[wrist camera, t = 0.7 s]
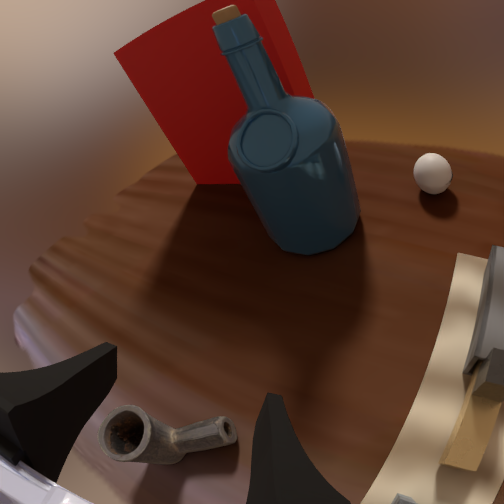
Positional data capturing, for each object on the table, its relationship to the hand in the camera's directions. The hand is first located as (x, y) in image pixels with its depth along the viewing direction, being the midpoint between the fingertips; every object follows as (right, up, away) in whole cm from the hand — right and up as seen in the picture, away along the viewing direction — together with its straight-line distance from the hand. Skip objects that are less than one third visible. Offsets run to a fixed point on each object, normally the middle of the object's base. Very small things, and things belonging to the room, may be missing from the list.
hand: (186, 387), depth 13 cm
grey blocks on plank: (+23, -8, +7) cm, 26 cm away
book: (+5, +21, +44) cm, 49 cm away
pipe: (-4, -15, +16) cm, 23 cm away
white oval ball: (+29, +15, +25) cm, 42 cm away
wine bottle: (+12, +10, +30) cm, 34 cm away
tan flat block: (+24, -4, +7) cm, 25 cm away
